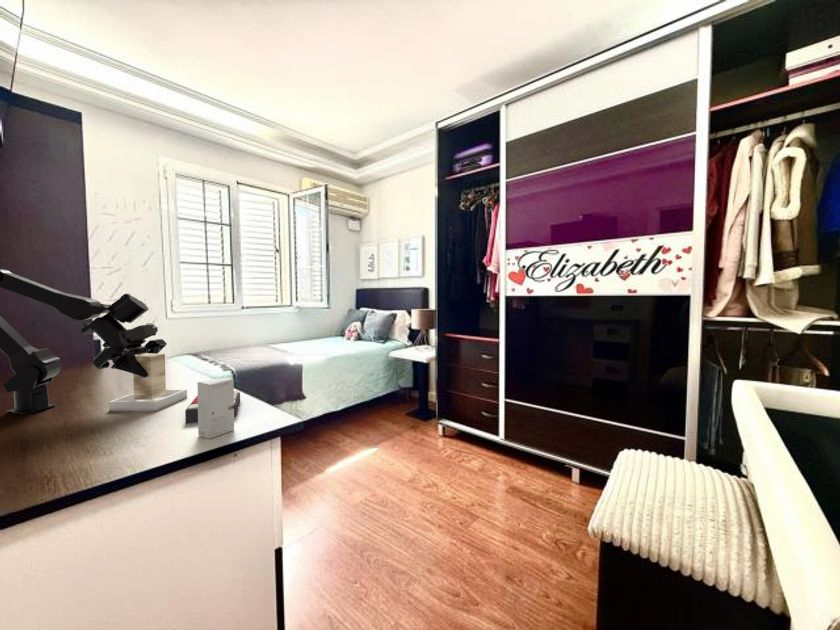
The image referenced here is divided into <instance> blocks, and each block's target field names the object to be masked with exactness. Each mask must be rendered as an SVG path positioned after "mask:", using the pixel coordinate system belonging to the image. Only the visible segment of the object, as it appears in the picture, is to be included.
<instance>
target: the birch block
mask: <svg viewBox="0 0 840 630" xmlns="http://www.w3.org/2000/svg"><path fill="white" fill-rule="evenodd" d="M135 358H136V360H137V361H138V362H139V363H140V364H141V366H142V367H143V368H144V369H145V370H146V372H147V373H148V376H147V377H142V376H139V375H136V374H133V373H132V374H133V379H132V380H133V393H134V399H136V400H153V399H156V398H158V397H161V396H163V395H166V389H167V387H166V354H165V353H158V354H154V353H147V354H142V355H135Z"/></svg>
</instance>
